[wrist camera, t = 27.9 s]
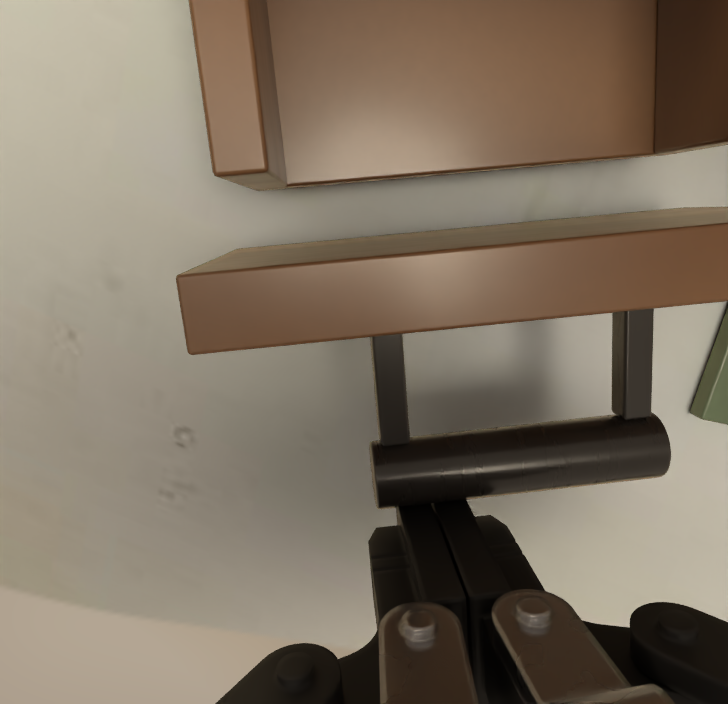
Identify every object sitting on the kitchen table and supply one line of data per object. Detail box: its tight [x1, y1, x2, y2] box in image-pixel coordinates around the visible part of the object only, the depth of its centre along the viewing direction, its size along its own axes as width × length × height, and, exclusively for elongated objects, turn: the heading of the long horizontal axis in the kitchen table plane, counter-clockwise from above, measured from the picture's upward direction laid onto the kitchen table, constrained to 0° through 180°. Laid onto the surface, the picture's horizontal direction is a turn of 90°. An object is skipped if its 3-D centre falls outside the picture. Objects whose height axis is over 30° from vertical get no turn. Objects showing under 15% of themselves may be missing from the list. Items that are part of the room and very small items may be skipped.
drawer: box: [176, 0, 728, 509], centre depth 11 cm, size 17×11×6 cm
